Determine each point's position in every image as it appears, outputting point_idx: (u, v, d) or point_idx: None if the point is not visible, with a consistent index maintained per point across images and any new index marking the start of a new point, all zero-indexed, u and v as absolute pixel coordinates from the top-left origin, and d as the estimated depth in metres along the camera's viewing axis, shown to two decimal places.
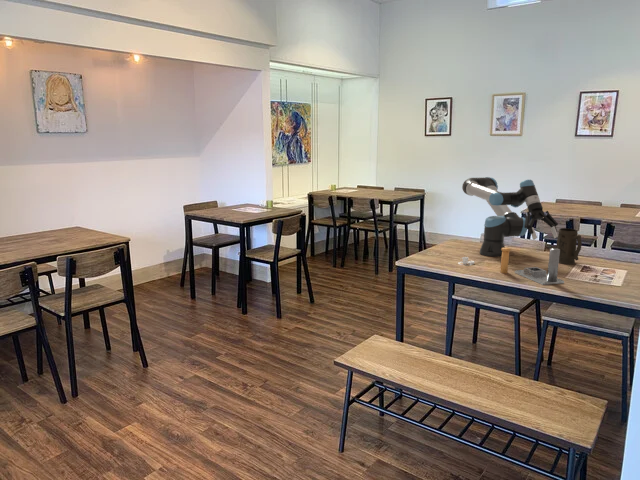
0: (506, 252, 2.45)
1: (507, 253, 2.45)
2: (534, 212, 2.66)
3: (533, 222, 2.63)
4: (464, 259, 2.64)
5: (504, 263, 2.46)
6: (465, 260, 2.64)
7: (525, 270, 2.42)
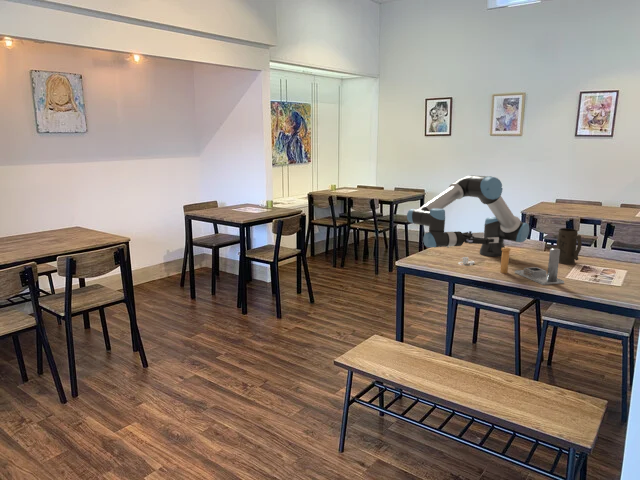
0: (506, 252, 2.45)
1: (507, 253, 2.45)
2: None
3: None
4: (464, 259, 2.64)
5: (504, 263, 2.46)
6: (465, 260, 2.64)
7: (525, 270, 2.42)
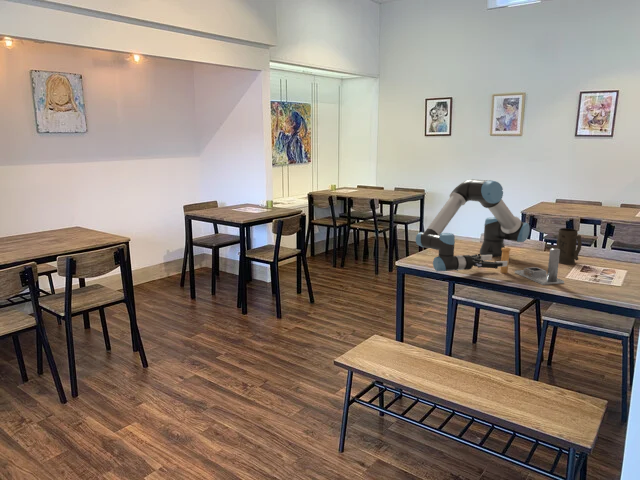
0: (506, 252, 2.45)
1: (507, 253, 2.45)
2: None
3: None
4: None
5: None
6: None
7: (525, 270, 2.42)
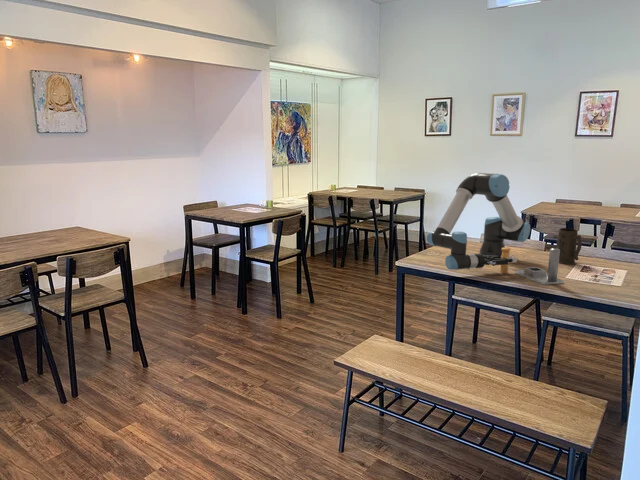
0: (506, 252, 2.45)
1: (507, 253, 2.45)
2: None
3: None
4: None
5: None
6: None
7: (525, 270, 2.42)
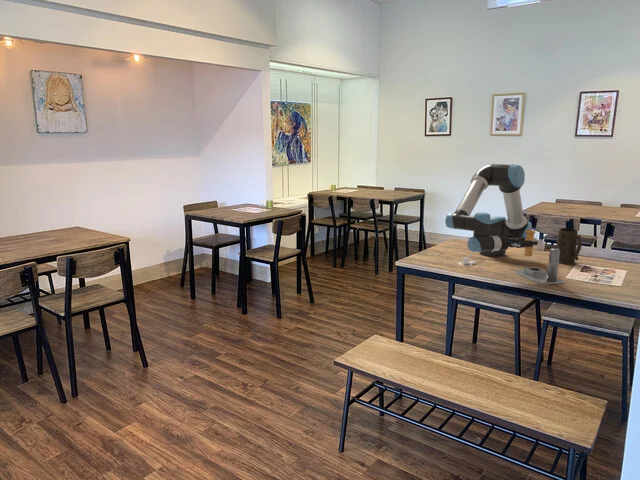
0: (531, 234, 2.36)
1: (532, 235, 2.37)
2: None
3: None
4: (464, 259, 2.64)
5: None
6: (465, 260, 2.64)
7: (525, 270, 2.42)
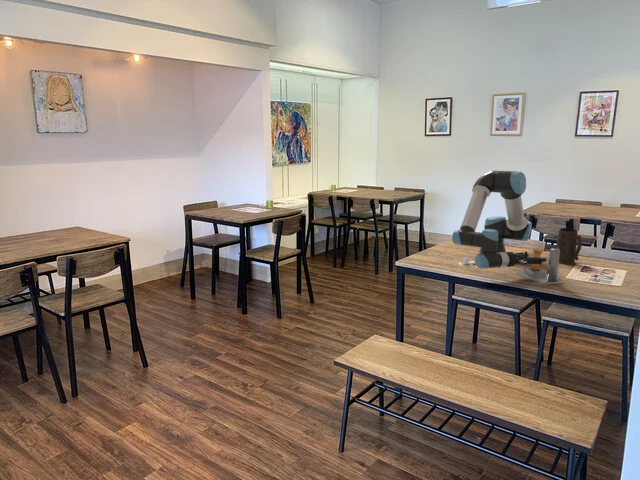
0: (538, 253, 2.37)
1: (539, 254, 2.37)
2: None
3: None
4: (465, 259, 2.64)
5: (535, 265, 2.39)
6: (466, 260, 2.64)
7: (525, 270, 2.42)
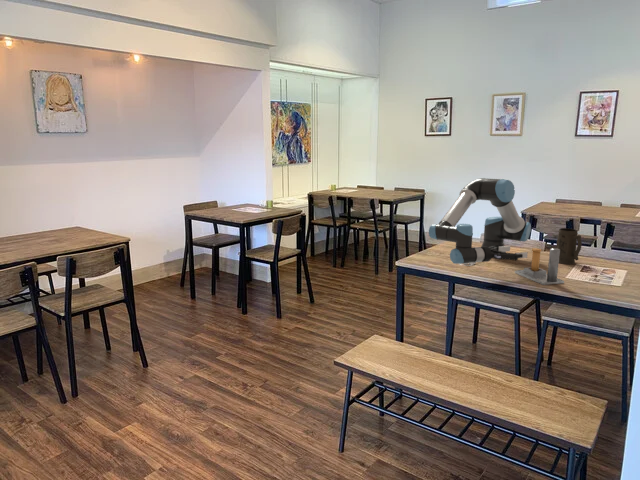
0: (537, 253, 2.38)
1: (538, 254, 2.38)
2: None
3: None
4: None
5: (535, 264, 2.39)
6: None
7: (525, 270, 2.42)
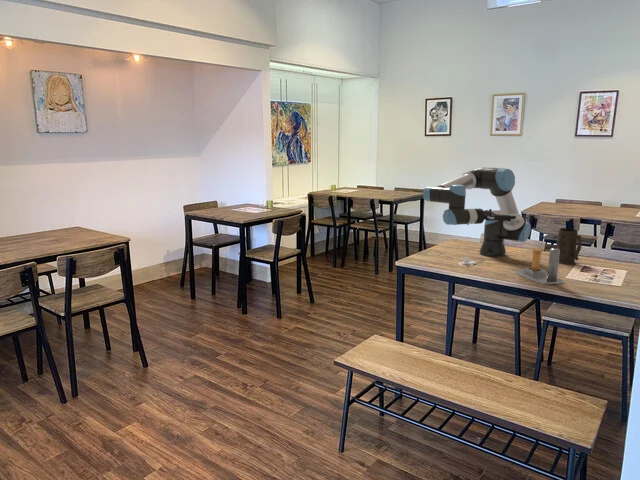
0: (538, 253, 2.37)
1: (539, 254, 2.37)
2: None
3: None
4: (465, 259, 2.64)
5: (535, 265, 2.39)
6: (466, 260, 2.63)
7: (525, 270, 2.42)
